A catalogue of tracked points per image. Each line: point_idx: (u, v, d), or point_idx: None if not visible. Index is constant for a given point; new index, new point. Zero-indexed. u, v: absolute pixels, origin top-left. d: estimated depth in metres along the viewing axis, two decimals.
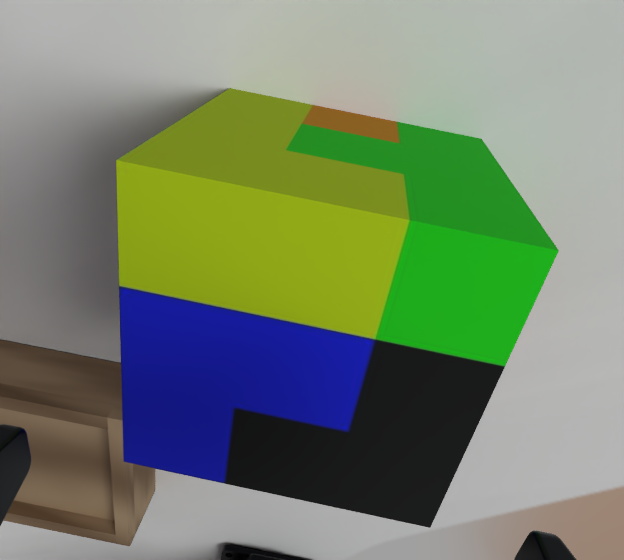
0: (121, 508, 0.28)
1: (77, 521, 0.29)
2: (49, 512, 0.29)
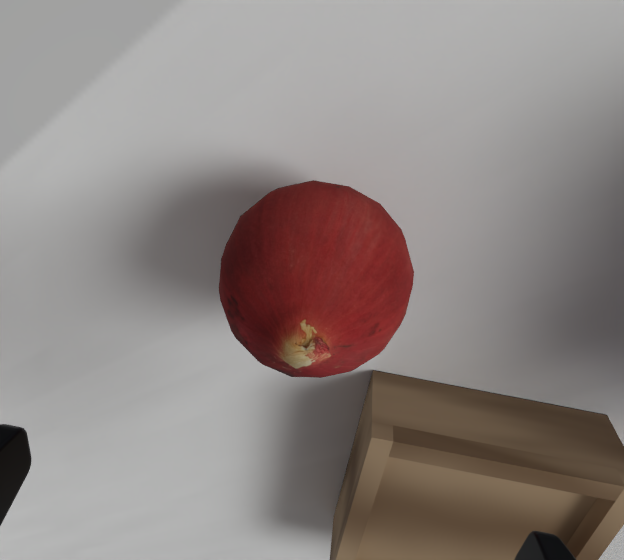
0: None
1: None
2: None
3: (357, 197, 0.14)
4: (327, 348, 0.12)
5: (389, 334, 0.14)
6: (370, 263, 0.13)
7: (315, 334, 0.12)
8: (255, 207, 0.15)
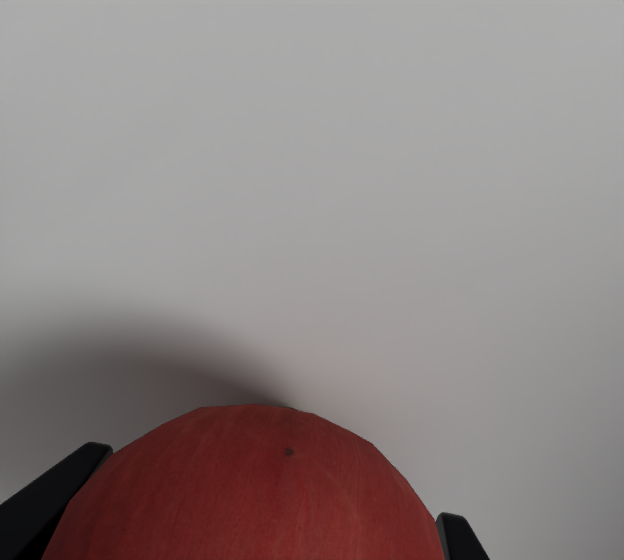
0: None
1: None
2: None
3: (332, 495, 0.06)
4: None
5: None
6: None
7: None
8: (89, 509, 0.06)
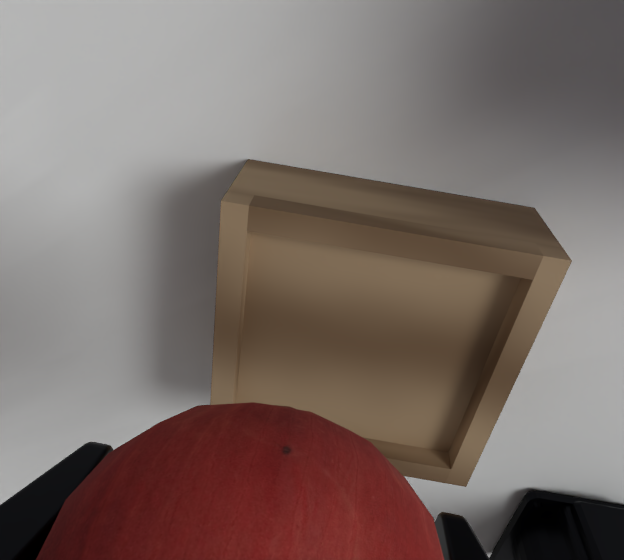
0: (483, 424, 0.18)
1: (387, 451, 0.19)
2: None
3: (330, 494, 0.06)
4: None
5: None
6: None
7: None
8: (84, 507, 0.06)
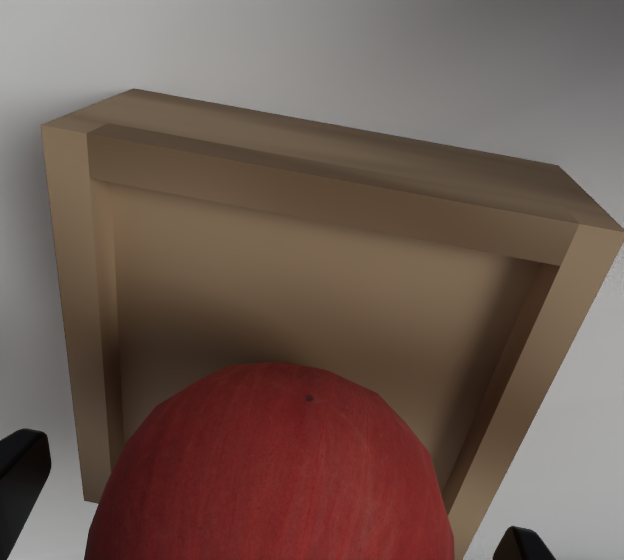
0: (479, 491, 0.12)
1: None
2: None
3: (347, 431, 0.07)
4: None
5: None
6: None
7: None
8: (146, 446, 0.07)
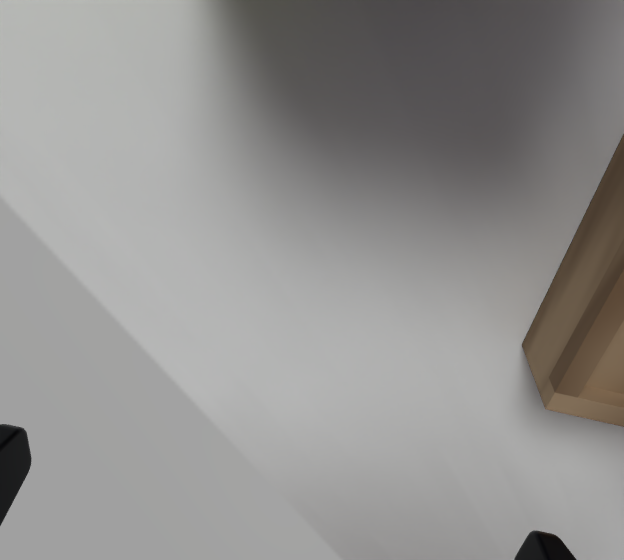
0: None
1: None
2: None
3: None
4: None
5: None
6: None
7: None
8: None
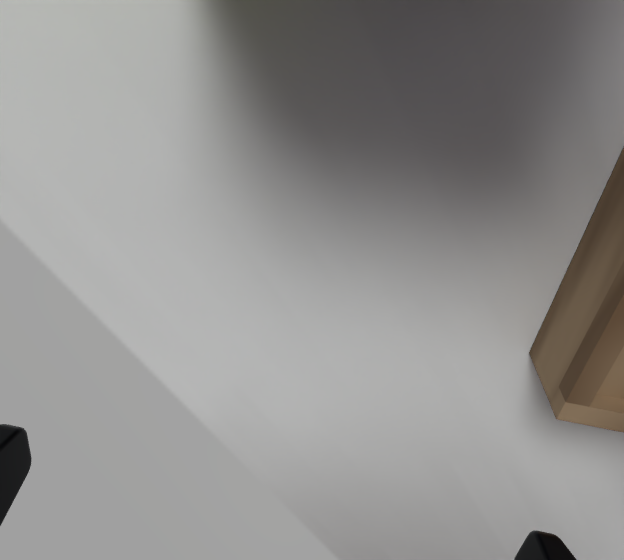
0: None
1: None
2: None
3: None
4: None
5: None
6: None
7: None
8: None
